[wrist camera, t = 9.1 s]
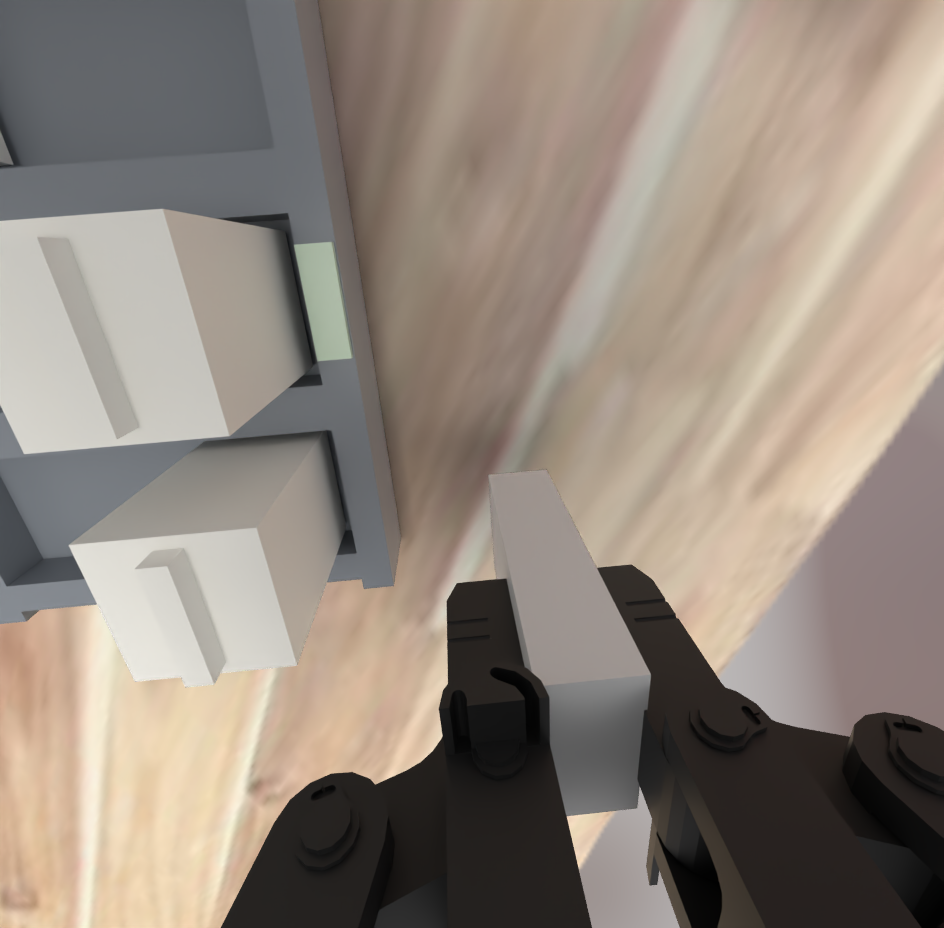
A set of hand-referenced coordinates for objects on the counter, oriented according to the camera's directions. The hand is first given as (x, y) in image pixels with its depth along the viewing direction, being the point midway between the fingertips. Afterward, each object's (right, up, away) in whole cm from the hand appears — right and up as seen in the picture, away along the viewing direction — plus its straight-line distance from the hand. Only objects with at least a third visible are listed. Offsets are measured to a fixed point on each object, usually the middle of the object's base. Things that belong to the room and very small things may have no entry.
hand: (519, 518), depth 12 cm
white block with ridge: (-8, +6, +1) cm, 10 cm away
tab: (-7, +1, +3) cm, 8 cm away
